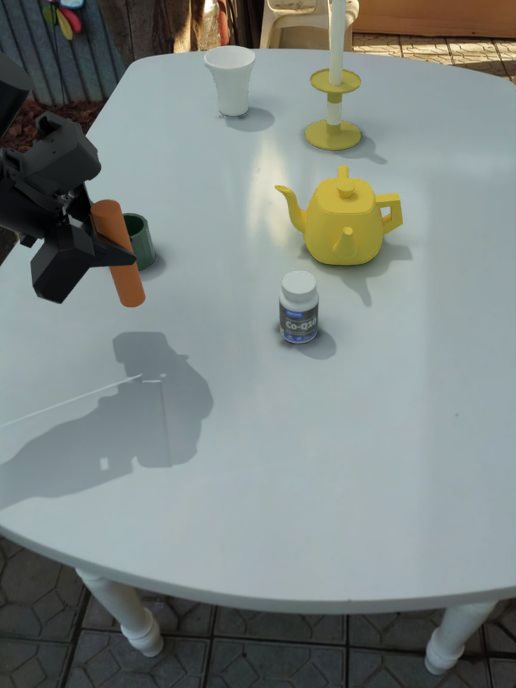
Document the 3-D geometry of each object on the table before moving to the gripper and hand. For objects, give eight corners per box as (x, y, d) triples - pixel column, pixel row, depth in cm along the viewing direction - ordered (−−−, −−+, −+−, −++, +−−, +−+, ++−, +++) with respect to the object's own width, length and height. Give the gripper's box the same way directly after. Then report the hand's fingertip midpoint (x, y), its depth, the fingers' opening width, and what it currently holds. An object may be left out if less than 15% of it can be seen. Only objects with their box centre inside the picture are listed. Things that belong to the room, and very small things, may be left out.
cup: (201, 104, 109) (194, 49, 102) (247, 94, 112) (243, 40, 105) (219, 127, 104) (212, 70, 97) (266, 116, 107) (264, 60, 100)
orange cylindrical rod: (129, 311, 65) (100, 220, 56) (115, 298, 66) (84, 207, 57) (150, 299, 67) (125, 207, 57) (136, 286, 68) (109, 195, 58)
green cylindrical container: (115, 274, 79) (105, 242, 75) (112, 248, 82) (102, 216, 78) (157, 267, 80) (150, 235, 76) (152, 241, 84) (144, 209, 79)
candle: (362, 151, 101) (378, -28, 80) (304, 149, 100) (305, -30, 80) (360, 121, 107) (374, -51, 87) (305, 119, 107) (306, -53, 86)
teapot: (275, 242, 84) (272, 183, 77) (340, 204, 91) (343, 145, 83) (344, 291, 78) (348, 232, 71) (408, 246, 85) (418, 187, 77)
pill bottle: (284, 348, 72) (283, 299, 65) (276, 320, 74) (274, 271, 68) (322, 340, 72) (324, 292, 66) (312, 314, 75) (313, 264, 69)
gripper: (28, 168, 42) (199, 253, 53) (16, 58, 53) (160, 148, 64) (-43, 273, 46) (130, 332, 57) (-40, 151, 57) (104, 220, 68)
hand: (132, 251), depth 62 cm, fingers closed on orange cylindrical rod, 3 cm apart
